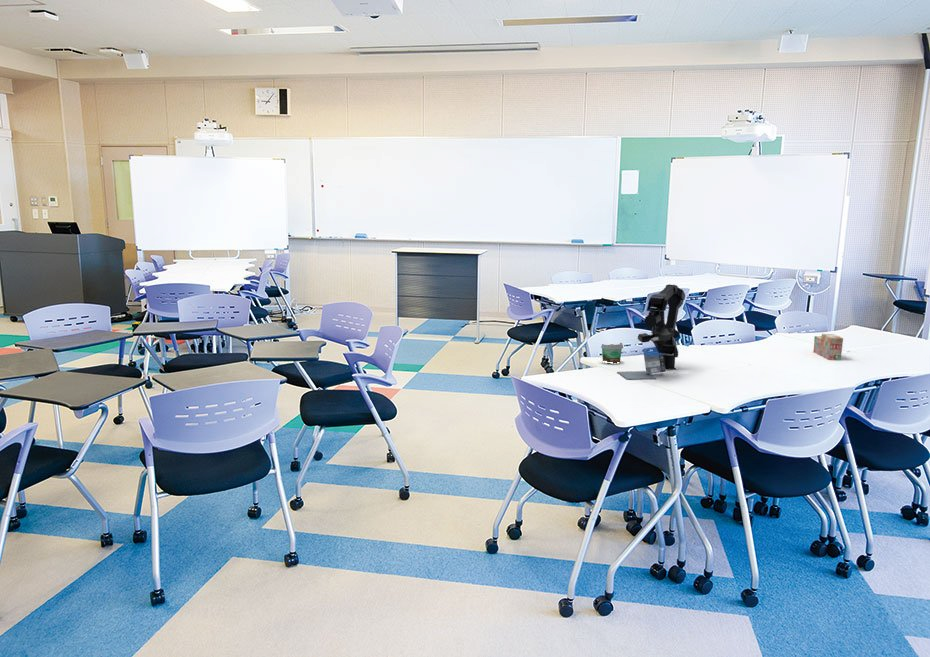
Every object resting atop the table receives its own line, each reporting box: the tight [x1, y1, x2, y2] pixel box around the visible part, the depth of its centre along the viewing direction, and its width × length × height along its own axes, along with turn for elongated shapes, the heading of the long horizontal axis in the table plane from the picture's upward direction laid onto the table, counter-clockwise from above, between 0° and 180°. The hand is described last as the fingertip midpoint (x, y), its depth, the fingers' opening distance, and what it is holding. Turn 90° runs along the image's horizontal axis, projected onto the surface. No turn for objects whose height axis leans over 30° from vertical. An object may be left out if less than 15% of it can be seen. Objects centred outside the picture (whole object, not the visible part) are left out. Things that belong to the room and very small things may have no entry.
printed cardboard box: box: [812, 333, 844, 361], centre depth 351 cm, size 21×6×12 cm, turn 172°
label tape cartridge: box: [642, 346, 667, 375], centre depth 307 cm, size 9×4×12 cm, turn 113°
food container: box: [600, 342, 624, 363], centre depth 331 cm, size 12×6×10 cm, turn 112°
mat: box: [616, 370, 657, 381], centre depth 305 cm, size 14×14×1 cm
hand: (659, 352), depth 307 cm, fingers closed, pressing on label tape cartridge
